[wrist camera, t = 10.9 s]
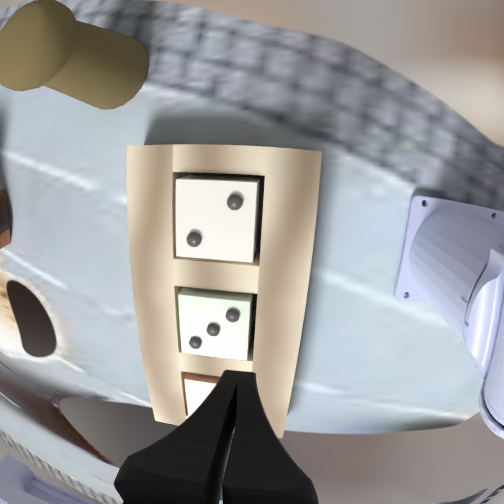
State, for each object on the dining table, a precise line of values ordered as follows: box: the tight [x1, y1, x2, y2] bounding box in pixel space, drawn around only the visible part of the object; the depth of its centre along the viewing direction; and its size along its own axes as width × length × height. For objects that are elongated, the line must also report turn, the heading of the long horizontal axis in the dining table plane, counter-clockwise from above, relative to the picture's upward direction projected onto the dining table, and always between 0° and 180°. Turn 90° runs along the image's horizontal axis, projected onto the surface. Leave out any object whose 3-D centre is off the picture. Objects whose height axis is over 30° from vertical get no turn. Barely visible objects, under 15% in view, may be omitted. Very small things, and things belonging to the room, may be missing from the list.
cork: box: [0, 0, 149, 109], centre depth 13 cm, size 6×6×11 cm
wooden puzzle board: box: [127, 144, 322, 438], centre depth 22 cm, size 12×24×2 cm, turn 177°
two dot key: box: [176, 175, 260, 263], centre depth 20 cm, size 5×5×3 cm
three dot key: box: [178, 287, 254, 361], centre depth 22 cm, size 5×5×3 cm
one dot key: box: [184, 372, 220, 416], centre depth 24 cm, size 5×5×3 cm
